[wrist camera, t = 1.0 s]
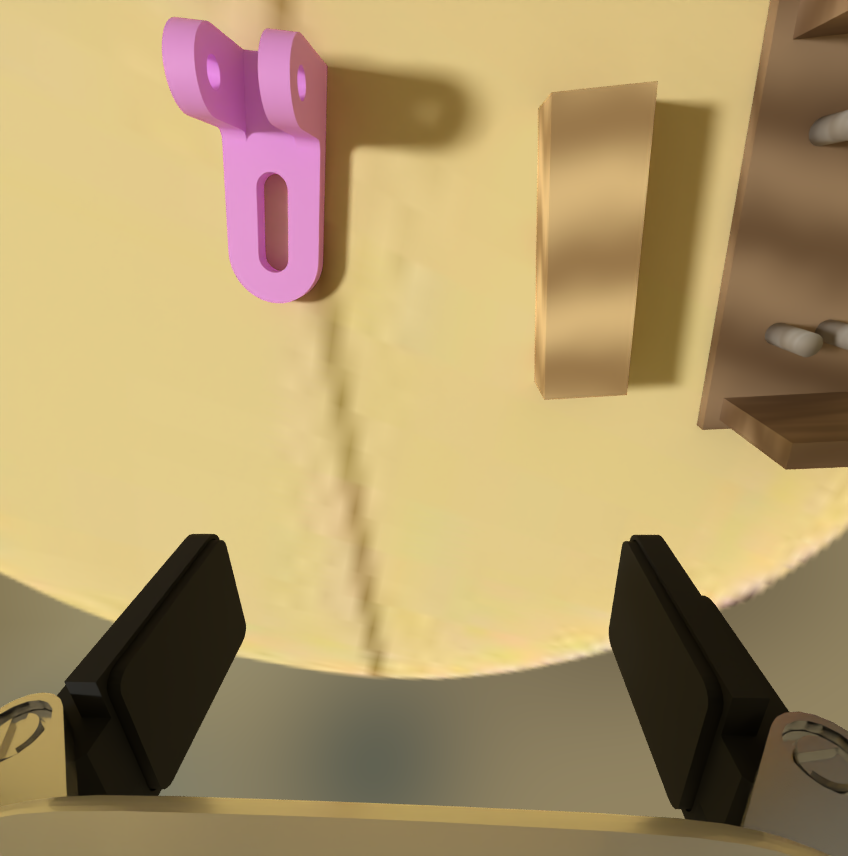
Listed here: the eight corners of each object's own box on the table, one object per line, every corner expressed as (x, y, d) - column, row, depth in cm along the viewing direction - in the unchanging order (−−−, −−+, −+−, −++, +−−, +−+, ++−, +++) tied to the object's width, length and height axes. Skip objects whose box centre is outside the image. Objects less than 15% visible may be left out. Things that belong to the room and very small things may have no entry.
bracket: (228, 54, 26) (157, 2, 20) (327, 66, 26) (289, 18, 20) (240, 294, 31) (187, 313, 25) (322, 304, 31) (291, 326, 25)
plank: (537, 109, 27) (551, 92, 23) (628, 100, 26) (657, 81, 23) (533, 379, 33) (544, 399, 29) (606, 375, 33) (626, 394, 29)
